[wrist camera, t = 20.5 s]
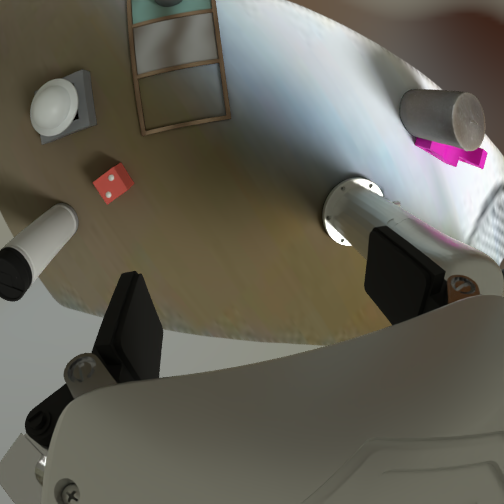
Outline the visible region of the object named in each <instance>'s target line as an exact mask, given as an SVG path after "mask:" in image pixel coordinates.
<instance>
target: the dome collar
mask: <svg viewBox="0 0 504 504" xmlns="http://www.w3.org/2000/svg"><path fill="white" fill-rule="evenodd" d="M61 79H65V80H68V81H69V82H71V83H72V84H73V85H74V86H75V88H76V90H77V93H78V98H79V104H78V117H79V119H77V120H74V121H73V122H72V123H71V124H70V126H69V127H68V128H67V129H66V130H65V131H63V132H62V133H60V134H58V135H54V136H44V135H41V134H40V137H41V142H42V144H46V143H50V142H53V141H55V140H57V139H60V138H62V137H65V136H67V135H70V134H72V133H75V132H78V131H80V130H83V129H86V128H89V127H91V126H94V125H97V121H96V115H95V108H94V102H93V94H92V86H91V77H90V72H89V71H86V70H83V69H82V70H80V71H77V72H75V73H73V74H70V75H68V76H66V77H63V78H61ZM37 91H38V90H37ZM37 91H35V92H34V93H35V95H36V93H37Z"/></svg>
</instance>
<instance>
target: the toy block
mask: <svg viewBox="0 0 504 504" xmlns="http://www.w3.org/2000/svg"><path fill="white" fill-rule="evenodd" d="M415 145H416V146H418V147H419V148H421V149H423V150H425V151H426V152H428V153H430V154H431V155H433V156H435V157H436V158H438V159H439V160H441V161H443V162H444V163H446V164H449V165H452V166H455V167H456V166H457V163H458V160H460V161H462V162H465V163H468V164H471V165H474V166H476V167H479V168H481V169H483V168H484V164H485V160H486V157H487V152H486V151H485V150H484V149H481V148H479V147H478V148H477V149H476V150H474V151H465V150H464V149H460V148H457V147H453V146H450V145H446V144H441V143H437V142H434V141H430V140H426V139H422V138H418V137H417V139H416V142H415Z"/></svg>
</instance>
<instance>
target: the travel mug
mask: <svg viewBox="0 0 504 504" xmlns="http://www.w3.org/2000/svg"><path fill="white" fill-rule="evenodd" d="M77 228H78V217H77V214H76V212H75V211H74V209H73V208H72V207H71V206H69V205H68V204H65V203H58V204H56V205H54V206H53V207H52V208H50V209H49V210H48V211H46V212H45V213H44V214H42V215H41V216H40V217H39V218H37V219H36V220H35V221H33V222H32V223H31V224H30V225H29V226H27V227H26V228H25V229H24V230H22V231H21V232H20V233H19V234H18V235H17V236H15V237H14V238H13V239H12V240H11V241H10V242H9V243H7V244H6V245H5V246H4V247H3V248H2V249H1V250H0V297H1V298H3V299H5V300H7V301H18V300H19V299H21V298H22V296H23V295H24V294H25V292H26V291H27V289H28V288H29V287H30V286H31V285H32V283H33V282H34V281H35V280H36V279H37V277H38V276H39V275H40V273H41V272H42V271H43V270H44V268H45V267H46V266H47V265H48V264H49V262H50V261H51V260H52V259H53V258H54V256H55V255H56V254H57V253H58V252H59V250H60V249H61V248H62V247H63V246H64V245H65V244H66V242H67V241H68V240H69V239H70V238H71V237H72V236H73V235H74V234H75V232H76V231H77Z"/></svg>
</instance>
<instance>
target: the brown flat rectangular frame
mask: <svg viewBox="0 0 504 504" xmlns="http://www.w3.org/2000/svg"><path fill="white" fill-rule="evenodd" d="M211 4H212V8H211ZM206 13H207V14H206ZM212 13H213V16H212ZM199 14H200V15H199ZM192 15H193V16H192ZM127 16H128V31H129V44H130V54H131V64H132V72H133V81H134V88H135V95H136V102H137V109H138V115H139V121H140V127H141V133H142V136H145V135H149V134H153V133H157V132H161V131H166V130H170V129H175V128H180V127H185V126H190V125H195V124H201V123H207V122H213V121H219V120H226V119H231V114H230V106H229V99H228V91H227V84H226V76H225V69H224V61H223V54H222V46H221V39H220V31H219V24H218V16H217V8H216V1H215V0H183V1H182V2H180V3H179V4H177V5H175V6H172V7H162V6H159V5H158V4H157V3H156V2H155V0H132V6H131V0H127ZM186 16H187V17H186ZM132 17H133V23H132ZM180 17H181V18H180ZM175 18H176V19H175ZM170 19H171V20H170ZM213 19H214V24H213ZM165 20H166V21H165ZM156 22H157V23H156ZM152 23H153V24H152ZM148 24H149V25H148ZM144 25H145V26H144ZM214 27H215V32H214ZM133 28H134V29H133ZM133 32H134V36H133ZM215 35H216V39H215ZM216 42H217V47H216ZM134 43H135V47H134ZM217 50H218V55H217ZM135 54H136V57H135ZM218 58H219V59H218ZM136 63H137V66H136ZM215 63H219V65H220V73H221V80H222V88H223V95H224V102H225V110H226V116H219V117H213V118H207V119H201V120H195V121H190V122H185V123H180V124H175V125H170V126H166V127H161V128H157V129H153V130H149V131H146V129H145V123H144V117H143V110H142V104H141V97H140V90H139V83H138V79H140V78H144V77H148V76H152V75H156V74H160V73H165V72H169V71H174V70H179V69H184V68H190V67H195V66H201V65H208V64H215ZM137 72H138V75H137Z"/></svg>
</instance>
